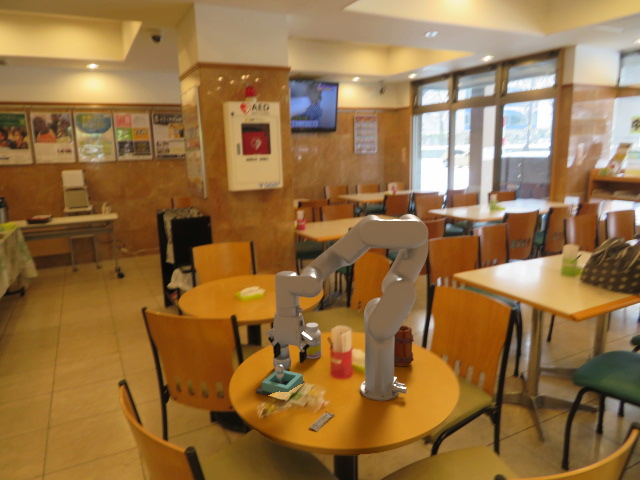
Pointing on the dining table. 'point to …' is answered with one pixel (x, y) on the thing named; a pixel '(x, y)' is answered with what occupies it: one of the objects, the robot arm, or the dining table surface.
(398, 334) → the mug
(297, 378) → the teal square frame
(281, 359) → the plastic bottle
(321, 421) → the snack bar
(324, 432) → the dining table surface
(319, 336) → the supplement bottle
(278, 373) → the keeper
